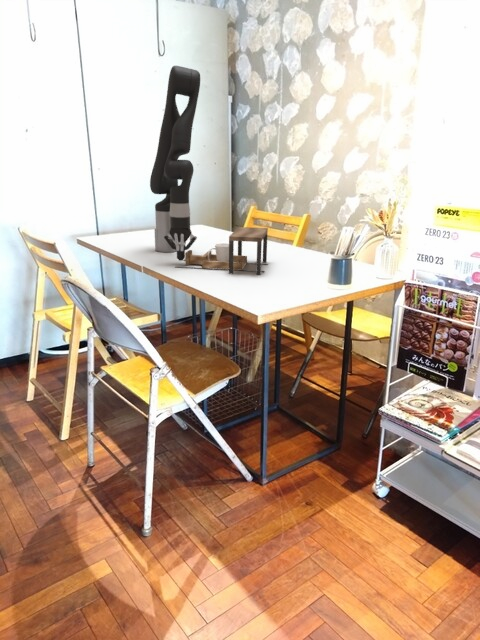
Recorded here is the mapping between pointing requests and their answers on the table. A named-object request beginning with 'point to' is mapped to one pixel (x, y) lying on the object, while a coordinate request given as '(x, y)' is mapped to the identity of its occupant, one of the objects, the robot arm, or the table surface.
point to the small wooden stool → (250, 236)
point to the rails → (223, 269)
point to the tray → (214, 261)
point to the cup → (221, 252)
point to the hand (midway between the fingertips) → (181, 260)
